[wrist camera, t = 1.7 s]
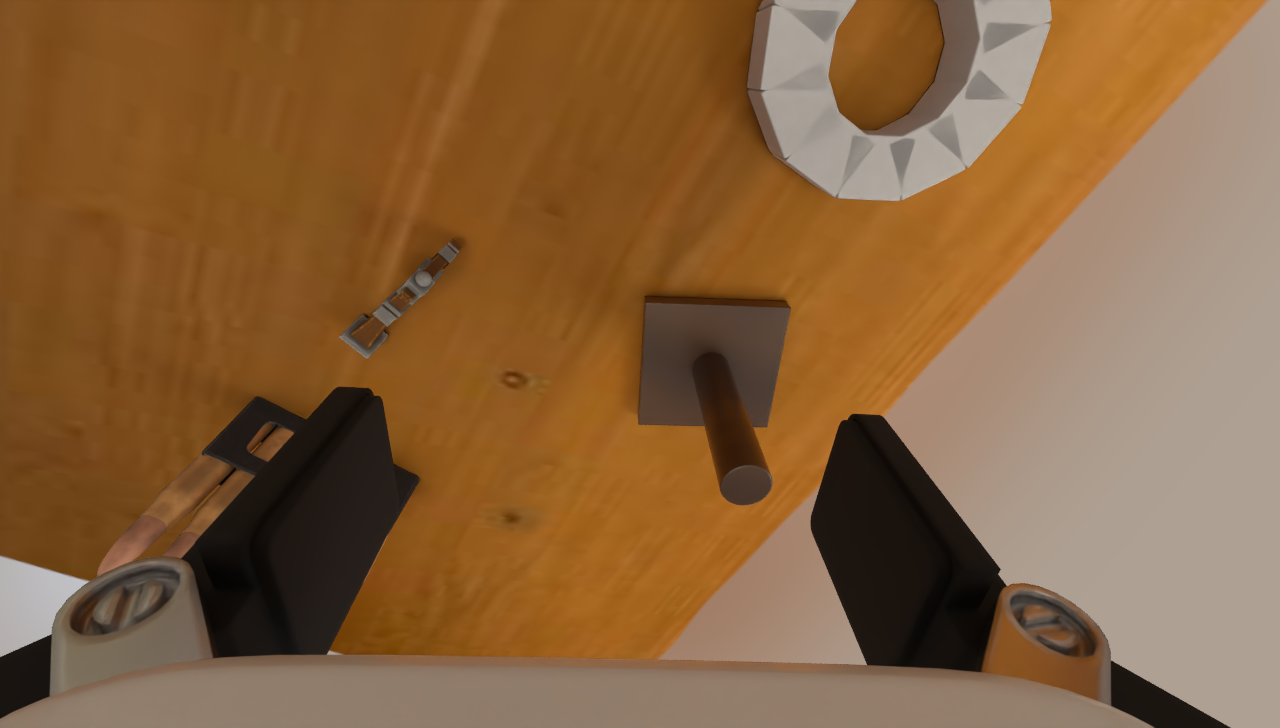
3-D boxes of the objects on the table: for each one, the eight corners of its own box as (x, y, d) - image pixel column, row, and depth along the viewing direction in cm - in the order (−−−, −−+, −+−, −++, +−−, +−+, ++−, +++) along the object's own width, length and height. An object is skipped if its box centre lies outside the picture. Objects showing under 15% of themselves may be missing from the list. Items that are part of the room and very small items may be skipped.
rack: (644, 295, 30) (656, 402, 20) (786, 300, 30) (864, 407, 21) (637, 415, 34) (645, 553, 24) (763, 418, 34) (820, 555, 24)
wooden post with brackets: (480, 247, 27) (433, 300, 24) (411, 310, 32) (365, 361, 29) (452, 220, 27) (399, 271, 24) (386, 289, 32) (335, 339, 29)
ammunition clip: (420, 478, 35) (336, 650, 25) (408, 495, 36) (320, 669, 26) (256, 395, 32) (78, 554, 22) (245, 416, 33) (67, 579, 22)
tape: (772, -115, 22) (791, -139, 19) (1047, -94, 22) (1100, -115, 20) (734, 183, 27) (745, 194, 25) (955, 193, 28) (988, 205, 25)
